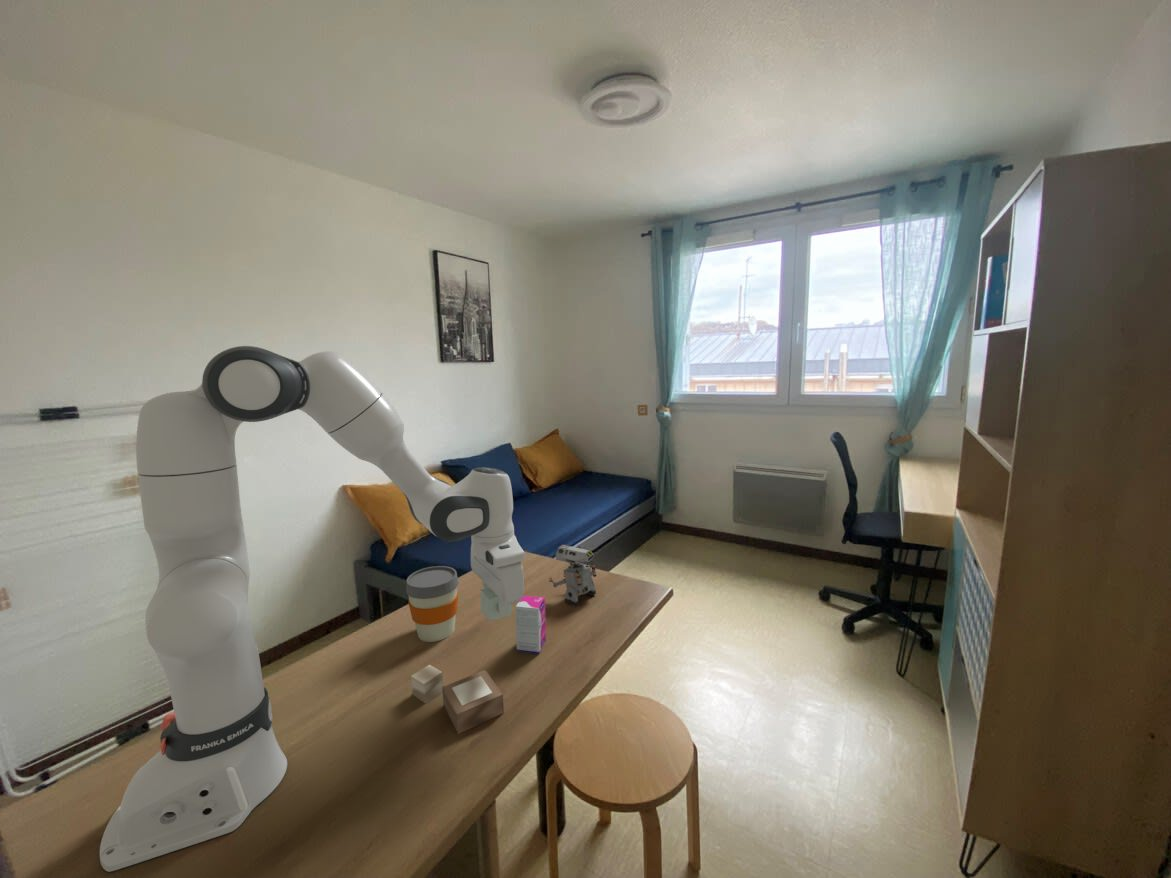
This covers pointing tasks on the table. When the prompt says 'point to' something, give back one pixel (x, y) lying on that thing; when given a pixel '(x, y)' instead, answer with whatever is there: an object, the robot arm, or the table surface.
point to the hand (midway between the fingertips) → (496, 605)
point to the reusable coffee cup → (433, 601)
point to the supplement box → (530, 624)
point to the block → (427, 683)
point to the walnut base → (472, 701)
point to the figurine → (576, 573)
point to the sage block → (492, 605)
